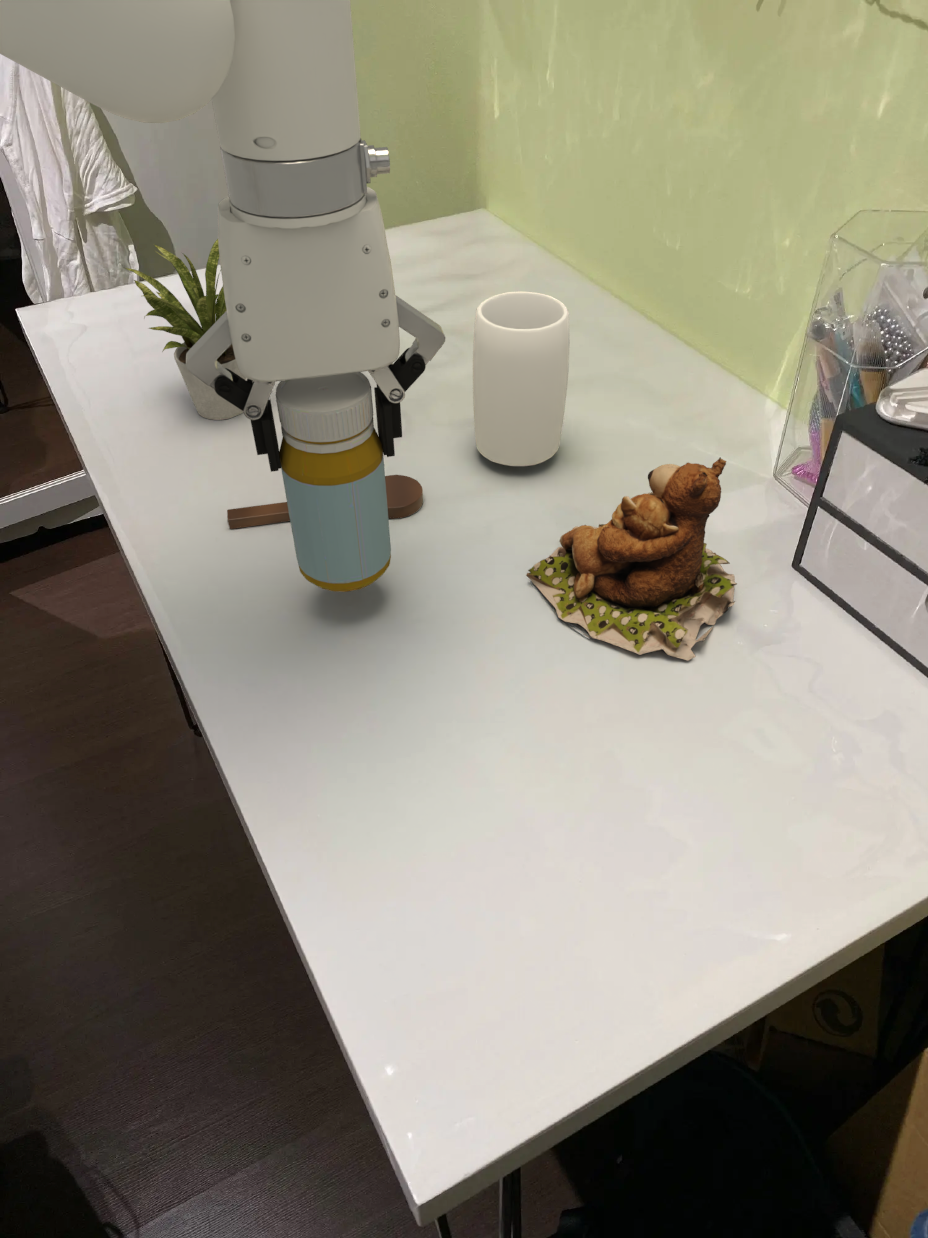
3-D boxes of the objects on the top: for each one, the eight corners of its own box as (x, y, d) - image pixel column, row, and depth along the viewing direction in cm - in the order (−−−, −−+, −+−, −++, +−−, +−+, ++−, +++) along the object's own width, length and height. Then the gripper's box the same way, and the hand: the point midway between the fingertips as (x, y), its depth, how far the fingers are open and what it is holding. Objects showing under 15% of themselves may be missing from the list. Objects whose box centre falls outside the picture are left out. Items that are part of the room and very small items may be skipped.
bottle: (408, 573, 68) (397, 394, 58) (326, 609, 65) (298, 427, 55) (362, 526, 72) (344, 351, 62) (283, 558, 70) (250, 380, 59)
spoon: (230, 541, 77) (227, 530, 76) (228, 507, 80) (226, 496, 79) (427, 514, 79) (427, 503, 78) (417, 482, 83) (417, 471, 82)
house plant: (283, 358, 100) (259, 204, 89) (319, 418, 91) (297, 255, 80) (152, 385, 96) (109, 227, 85) (176, 450, 87) (131, 283, 76)
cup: (509, 420, 90) (513, 280, 81) (579, 450, 86) (592, 306, 77) (454, 457, 86) (451, 313, 76) (525, 490, 82) (532, 343, 72)
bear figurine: (597, 515, 79) (611, 388, 71) (758, 583, 72) (796, 452, 64) (505, 598, 71) (510, 467, 63) (677, 684, 64) (707, 550, 56)
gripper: (437, 144, 54) (444, 410, 66) (135, 167, 51) (201, 439, 63) (464, 186, 48) (467, 467, 61) (128, 214, 46) (201, 501, 58)
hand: (330, 451), depth 62 cm, fingers closed on bottle, 7 cm apart
